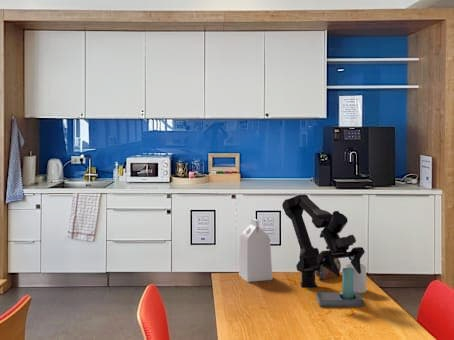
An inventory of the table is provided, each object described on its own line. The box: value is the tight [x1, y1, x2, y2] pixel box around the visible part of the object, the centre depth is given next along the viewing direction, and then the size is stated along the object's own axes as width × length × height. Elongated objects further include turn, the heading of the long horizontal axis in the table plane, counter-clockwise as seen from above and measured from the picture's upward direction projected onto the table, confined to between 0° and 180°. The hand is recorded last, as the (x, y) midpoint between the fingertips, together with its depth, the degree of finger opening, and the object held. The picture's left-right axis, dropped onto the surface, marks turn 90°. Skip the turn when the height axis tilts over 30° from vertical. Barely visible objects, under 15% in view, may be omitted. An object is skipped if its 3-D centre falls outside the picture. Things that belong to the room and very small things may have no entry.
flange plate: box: [316, 291, 365, 308], centre depth 220 cm, size 10×16×3 cm, turn 88°
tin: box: [315, 258, 342, 280], centre depth 258 cm, size 15×3×8 cm, turn 131°
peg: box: [342, 267, 354, 299], centre depth 218 cm, size 4×4×13 cm
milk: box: [238, 218, 273, 283], centre depth 259 cm, size 12×12×26 cm
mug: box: [345, 262, 367, 294], centre depth 237 cm, size 12×8×10 cm, turn 1°
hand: (349, 274), depth 217 cm, fingers open, 9 cm apart
